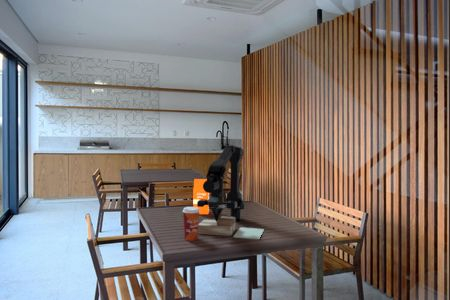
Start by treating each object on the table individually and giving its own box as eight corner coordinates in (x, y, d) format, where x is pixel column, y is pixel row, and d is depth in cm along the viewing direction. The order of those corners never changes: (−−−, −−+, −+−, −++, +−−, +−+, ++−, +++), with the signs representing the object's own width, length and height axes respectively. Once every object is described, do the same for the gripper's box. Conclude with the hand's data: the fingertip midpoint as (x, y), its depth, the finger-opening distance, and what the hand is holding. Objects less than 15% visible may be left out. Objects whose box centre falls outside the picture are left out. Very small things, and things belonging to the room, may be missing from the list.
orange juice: (208, 214, 213) (208, 180, 212) (193, 214, 213) (193, 179, 212) (209, 211, 221) (209, 178, 220) (194, 211, 221) (194, 178, 220)
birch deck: (204, 226, 185) (204, 219, 185) (235, 229, 182) (235, 221, 181) (197, 233, 174) (197, 225, 173) (230, 235, 170) (230, 227, 170)
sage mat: (240, 228, 183) (240, 227, 183) (264, 230, 180) (264, 229, 180) (233, 237, 168) (233, 236, 168) (259, 239, 165) (259, 238, 165)
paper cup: (188, 242, 160) (188, 211, 159) (179, 238, 166) (179, 207, 165) (203, 239, 164) (203, 208, 163) (194, 235, 170) (194, 205, 170)
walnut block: (221, 221, 181) (221, 216, 181) (235, 222, 180) (235, 217, 180) (216, 225, 173) (216, 220, 173) (231, 226, 171) (231, 221, 171)
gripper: (193, 191, 171) (193, 224, 172) (232, 193, 166) (232, 227, 167) (200, 187, 182) (200, 218, 183) (237, 189, 177) (237, 221, 178)
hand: (216, 221), depth 177 cm, fingers closed
